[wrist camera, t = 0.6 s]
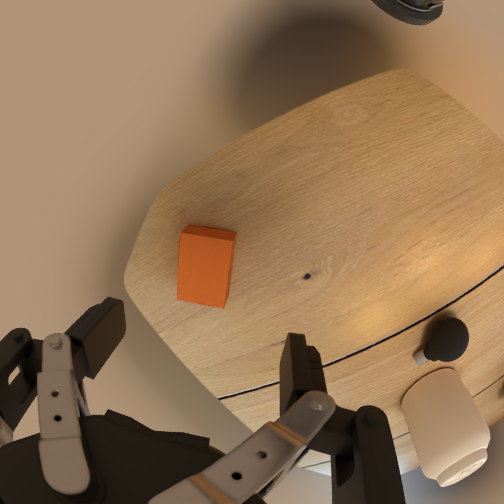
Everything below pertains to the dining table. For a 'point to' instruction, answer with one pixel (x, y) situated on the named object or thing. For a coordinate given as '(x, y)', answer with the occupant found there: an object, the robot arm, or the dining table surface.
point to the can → (445, 427)
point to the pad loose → (205, 265)
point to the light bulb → (445, 342)
